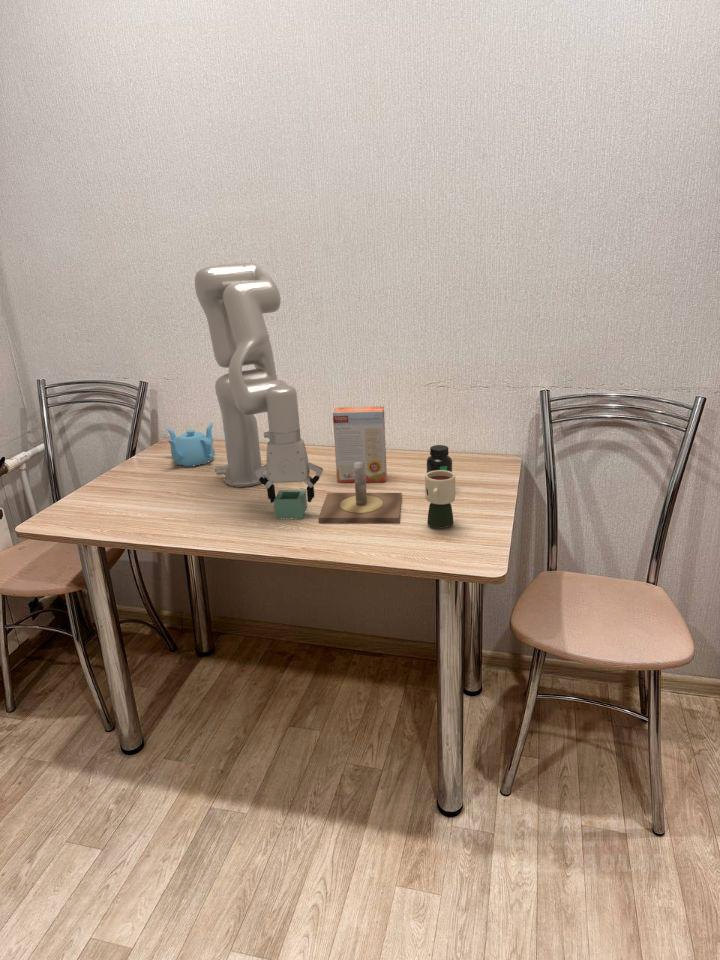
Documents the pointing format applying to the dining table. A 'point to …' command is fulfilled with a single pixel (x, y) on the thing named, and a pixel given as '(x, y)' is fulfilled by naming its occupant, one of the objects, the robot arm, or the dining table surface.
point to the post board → (372, 517)
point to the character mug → (440, 497)
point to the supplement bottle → (439, 459)
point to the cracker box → (360, 442)
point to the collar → (290, 504)
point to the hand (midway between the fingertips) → (291, 500)
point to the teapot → (192, 447)
